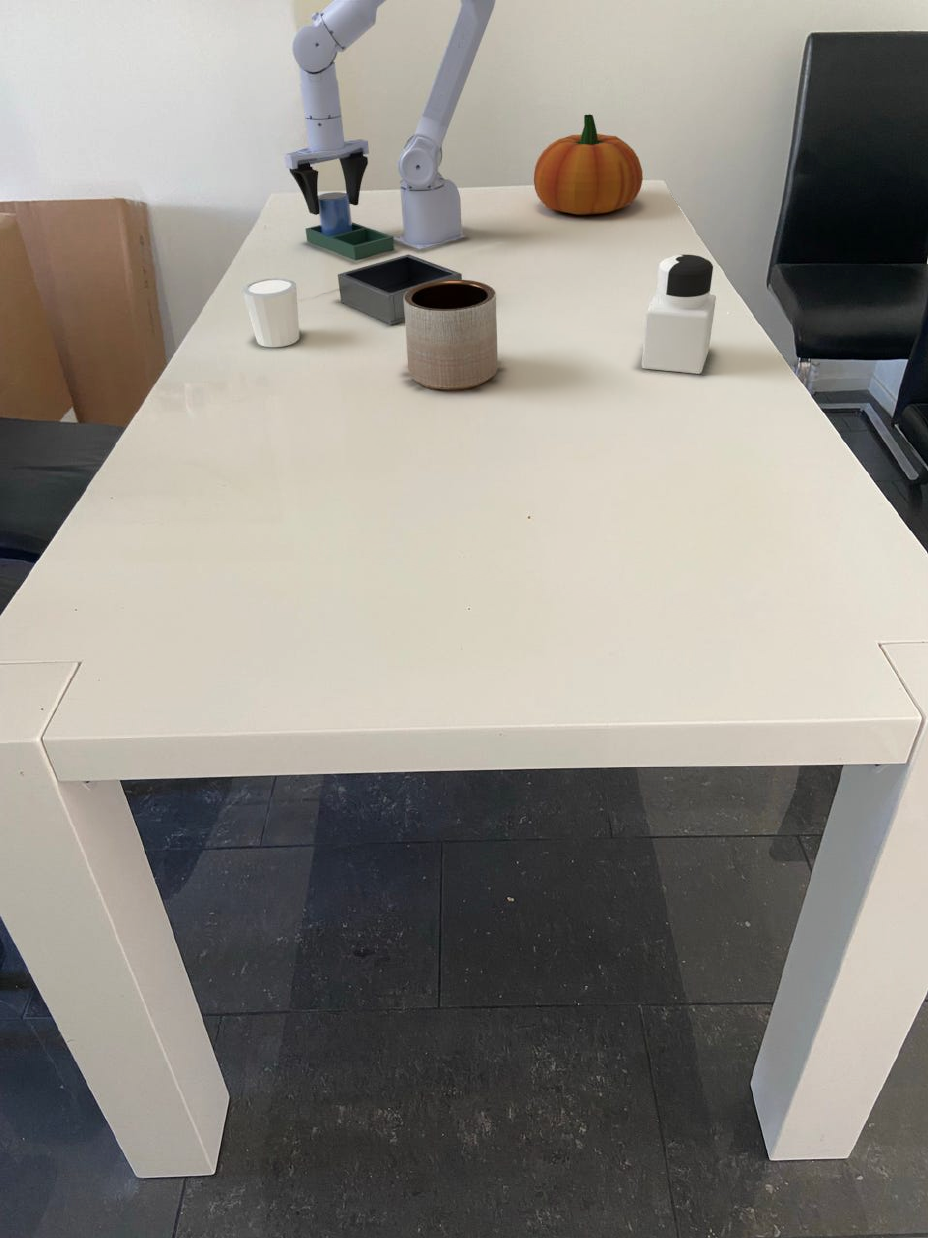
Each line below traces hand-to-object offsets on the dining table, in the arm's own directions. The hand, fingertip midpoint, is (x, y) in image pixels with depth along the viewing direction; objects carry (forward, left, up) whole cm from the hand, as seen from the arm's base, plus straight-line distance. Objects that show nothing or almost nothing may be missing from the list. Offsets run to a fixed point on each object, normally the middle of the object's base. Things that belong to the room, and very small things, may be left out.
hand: (334, 208), depth 149 cm
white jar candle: (+29, +30, -6) cm, 42 cm away
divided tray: (0, +4, -6) cm, 7 cm away
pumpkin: (-44, +15, -6) cm, 47 cm away
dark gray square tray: (+9, +31, -6) cm, 32 cm away
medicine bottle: (-3, +71, -6) cm, 71 cm away
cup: (0, 0, -5) cm, 5 cm away
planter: (+19, +55, -6) cm, 58 cm away
